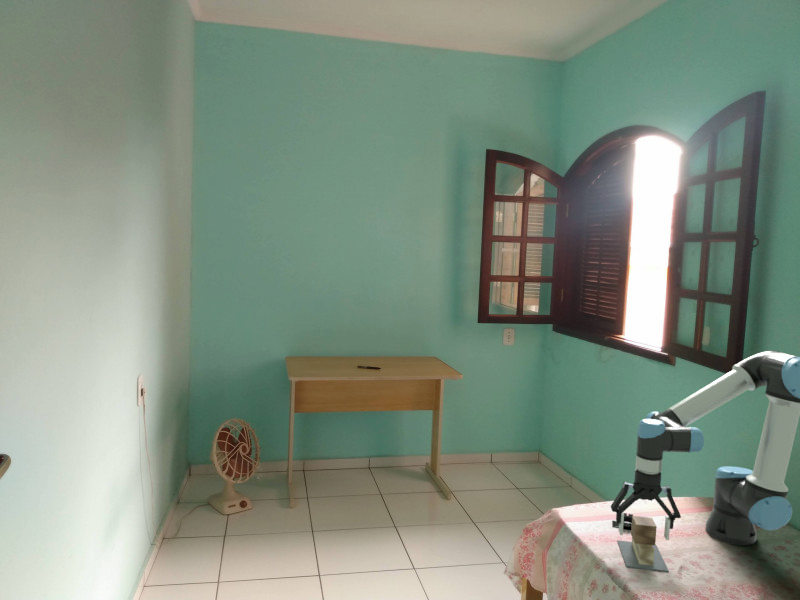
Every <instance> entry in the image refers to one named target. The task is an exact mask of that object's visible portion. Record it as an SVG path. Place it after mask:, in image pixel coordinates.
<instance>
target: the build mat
mask: <svg viewBox="0 0 800 600" xmlns="http://www.w3.org/2000/svg"><path fill="white" fill-rule="evenodd" d="M617 544H618V546H619V549H620V553H621V555H622V557H623V558H622V559H623V561H624V563H625V567H626V568H631V569H639V570H648V571H657V572H664V573H669V572H670V571H669V569H668V567H667V564H666V562H665V559H664V558H663V555H662V554H661V552H660V549H659V547H658V545H657V544H656V543H655V545H652V546H653V548H654V561H653V566H652V565H643V564H639V562H638V560H637V557H636V555H635V552H634V550H633V547H632V541H627V540H618V539H617Z"/></svg>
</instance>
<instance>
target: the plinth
mask: <svg viewBox="0 0 800 600" xmlns="http://www.w3.org/2000/svg"><path fill="white" fill-rule="evenodd" d="M631 542H632V547H633V550H634V552H635V555H636V557H637V560H638V562H639V564H643V565H652V566H653V561H654V548H653V546H652V545H647V544H638V543H634V540H633V538H632V537H631Z"/></svg>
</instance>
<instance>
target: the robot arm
mask: <svg viewBox="0 0 800 600" xmlns="http://www.w3.org/2000/svg"><path fill="white" fill-rule="evenodd" d="M761 387H766V389H765V392H764V395H765V396H766V397H767V399H768V405H767V410H766V412H765V413H766V414H765V418H764V421H763V427H762V431H761V436H760V439H759V440H760V441H759V444H758V448H757V453H756V457H755V461H754V464H753V465H754V466H753V470H752V469H749V468H745V467H740V466H730V465H728V466H720V467H718V468H717V470H716V472H715V473H716V474H715V476H714V477H715V480H714V481H715V484H714V495H713V506H712V510H711V511H710V513H709V516H708V518H707V520H706V522H705V531H706V533H707V534H708V535H710V537H712V538H714V539H715V540H719V541H720V542H723V543H727V544H731V545H736V546H751V545H754V544H756V542H757V530H756V527H755V526H757V527H759V528H760V529H762V530H765V531H776V530H779V529H781V528H782V527H785V526H786V525H787V524H788V523H789V522H790V520H791V518H792V515H793V507H792V505H791V503H790V502H789V500H788V499H787V498H788V494H789V493H788V492H789V488H788V486H787V485H786V483H785V480H786V476H787V471H788V468H789V463H790V458H791V454H792V449H793V445H794V442H795V438H796V437H795V436H796V433H797V429H798V424H799V421H800V420H799V419H800V356H797V355H793V354H788V353H785V352H783V351H779V350H765V351H760V352H758V353H755V354H753V355H751V356H749V357H746V358H744V359H743V360H740V361H739V362H738V363H735V364H734V365H732V368H731V371H729V372H727V373H725V374H724V375H722V376H720V377H719V378H717V379H715V380H714V381H712V382H711V383H709V384H707V385H706V386H704V387H702V388H700V389H699V390H696V391H695V392H694V393H692V394H690V395H689V396H687V397H685V398H684V399H682V400H680V401H679V402H677V403H675V404H673V405H672V406H671V407H669V408H667V409H665V410H663V411H662V412H661V411H651V412H649V413H648V414H647V415H646V416H645V418H643V419H640V421H639V423H638V427H637V433H636V435H637V442H636V453H635V454H636V457H635V468H634V469H635V470H634V481H633V483H629V482H627V481H623V482H622V483H623V484H622V488H621V490H619V493H618V494H617V495H616V497H615V499H614V500H613V501H612V503H611V505H610V510H611V511H612V512H613V513H615V514H616V515H615V521H617V523H619V528H618V533H619V535H620V536H623V534H624V529H623V524H624V514H623V513H624V512H625V511H626V510H628V508H629V507H631V506H632V505H633V504H634V503H635V502H637V501H638V500H639V499H640V500H643V501H646V500H648V501H653V500H655V501H656V502H657V504H658V505H659V506H660V507H661V509H662V510H663V511H664V512H665V513H666V515H665V519H664V521H665V522H664V532H663V537H664V538H665V541H669V540H670V530H673V529H674V523H675V520H676V519H681V517H682V516H681V513H680V511H679V509H678V507H677V504H676V503H675V500H674V498H673V495H672V488H671V487H670V485H665V486H661V484H662V483H661V482H662V469H663V458H664V457H663V456H664V453H690V454H691V453H698V452H701V451H702V449H703V448H704V446H705V437H704V434H703V433H704V432H703V431H702V430H701V429H700V428H698V427H695V426H694V427H693V426H689V425H691V424H692V423H694V422H697V421H698V420H699V419H701V418H702V417H704V416H706V415H708V414H709V413H711V412H713V411H714V410H716V409H718V408H719V407H721V406H723V405H725V404H726V403H728V402H729V401H731V400H733V399H735V398H737V397H738V396H739V395H742V394H743V393H745V392H746V391H752V392H753V391H754V390H756V389H758V388H761ZM631 489H632V490H633V491H632V492H631V495H629V496H628V497H627V498H626V496H627V494H628V492H629V491H631ZM662 492H663V494H664V495H666V497H667V499H668V502H669V504H670V507H671V509H672V511H673V512H672V511H671V509H669V507H668V506H667V505H666V504H665V503H664V501H663V500H662V499H661V497H660V496H659V495H660V494H661V493H662ZM625 498H626V499H625ZM624 499H625V500H624ZM623 500H624V501H623Z"/></svg>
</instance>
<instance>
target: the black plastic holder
mask: <svg viewBox="0 0 800 600" xmlns="http://www.w3.org/2000/svg"><path fill="white" fill-rule="evenodd" d="M623 514H624V524H623V531H624V530H626V531H630V532H631V525H632V516H634V514H631V513H628V514H627V512H625V513H624V512H623ZM611 525H612V526H611V527H612V528H613V529H619V523H617V521H616V520H612V522H611Z"/></svg>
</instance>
